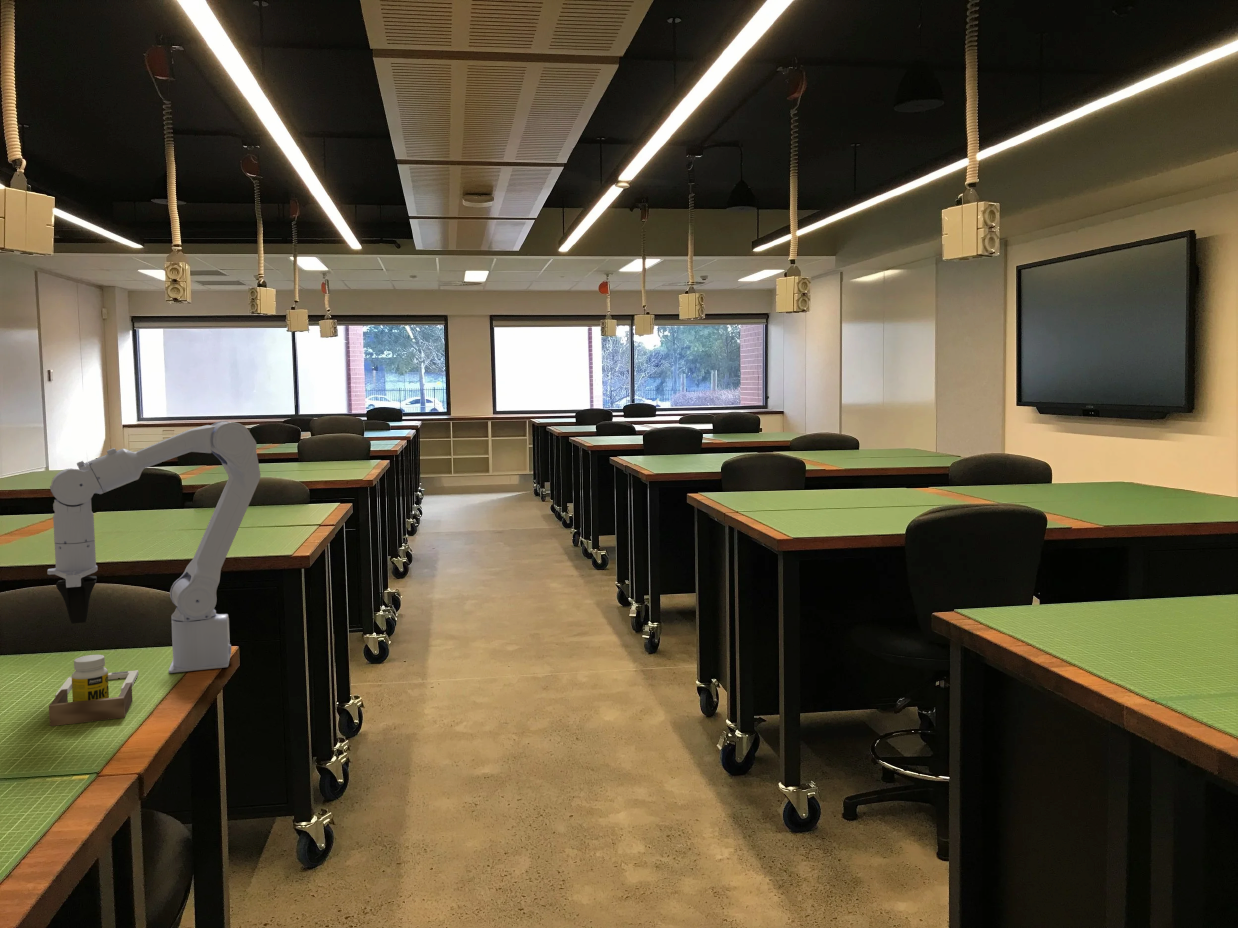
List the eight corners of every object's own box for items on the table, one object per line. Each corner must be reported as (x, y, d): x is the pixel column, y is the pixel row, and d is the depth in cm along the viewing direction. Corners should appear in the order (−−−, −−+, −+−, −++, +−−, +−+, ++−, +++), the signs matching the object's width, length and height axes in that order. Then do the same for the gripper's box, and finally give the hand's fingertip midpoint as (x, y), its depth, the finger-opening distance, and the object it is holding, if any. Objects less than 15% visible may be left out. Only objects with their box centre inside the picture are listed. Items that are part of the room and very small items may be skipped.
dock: (138, 674, 154) (138, 669, 153) (129, 691, 144) (129, 686, 144) (68, 681, 150) (68, 676, 150) (55, 699, 141) (55, 694, 141)
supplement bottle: (89, 719, 132) (86, 663, 132) (65, 715, 134) (62, 661, 133) (117, 708, 137) (114, 654, 136) (93, 705, 138) (90, 652, 138)
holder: (132, 700, 140) (131, 682, 140) (124, 717, 133) (123, 697, 133) (62, 708, 137) (61, 689, 137) (49, 726, 130) (48, 705, 129)
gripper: (50, 537, 152) (54, 615, 153) (41, 549, 139) (45, 635, 140) (98, 533, 155) (102, 610, 156) (93, 546, 142) (97, 629, 143)
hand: (78, 622), depth 148 cm, fingers closed
